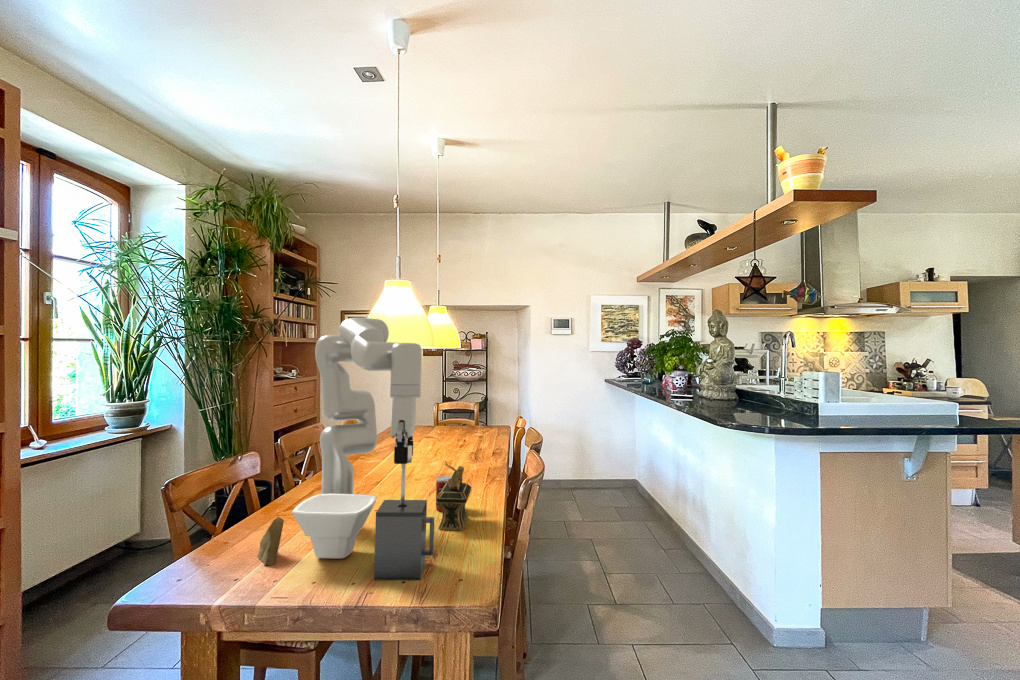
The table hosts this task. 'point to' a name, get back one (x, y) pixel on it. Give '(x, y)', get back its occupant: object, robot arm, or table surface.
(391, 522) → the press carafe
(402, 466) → the plunger
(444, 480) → the canned food
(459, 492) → the decorative box
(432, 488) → the table surface
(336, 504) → the bowl
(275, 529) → the rock
